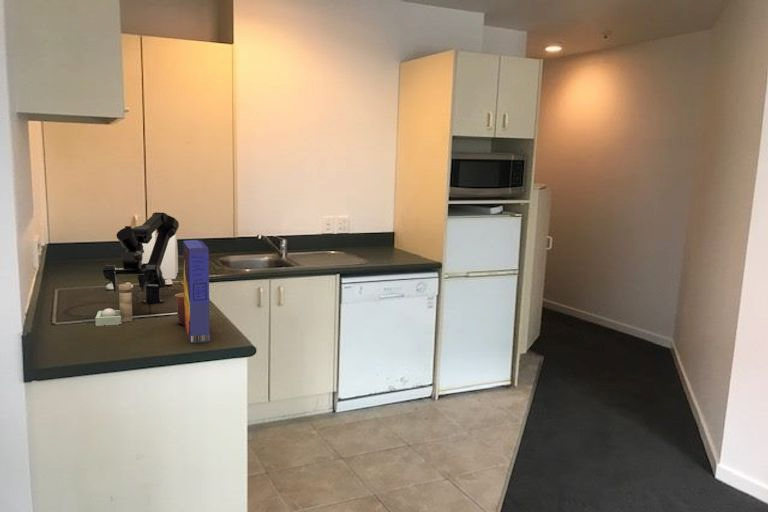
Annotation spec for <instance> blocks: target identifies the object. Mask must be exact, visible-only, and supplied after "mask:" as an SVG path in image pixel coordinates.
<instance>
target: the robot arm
mask: <svg viewBox="0 0 768 512" xmlns="http://www.w3.org/2000/svg"><path fill="white" fill-rule="evenodd" d="M179 225H180V224H179V221H178V220H177V219H176V218H175V217H174V216H171V215H169V214H168V213H165V212H158V211H157V212H156V211H155V212H152V215H151V216H150V217H149V218H148V219H147V220H146V221H145V222H143V223H142V224H141V225H137V226H134V227H132V226H130V225H126V226H125V227H124V228H122V229H120V230H119V231H117V233H116V238H117V240H118V242H119V243H120V245H121V246H122V248H124V249H126V251H124V252H121V259H120V262H121V265H122V268H117V267H116V264H105V265H104V266H103V267H102V273H103V276H104V278H105V279H106V280H108V281H109V282H111V283H112V288H113V292H114V293H116V292H117V290H118V289H117V287H118V276H119V275H130V276H133V275H134V276H135V275H137V279H138V285H139V288H140V290H141V291H140V292H141V293H142V292H143V293H144V298H145V299H142V302H143V303H145V304H147V305H151V304H160V303H164V300H162V299H161V289H164V288H165V287H166V279H164V278H163V276H162V271H161V268H160V266H161V263H162V260H163V257H164V254H165V251H166V248H167V245H168V242H169V239H170V238H171V237H172V236H174V235H175V233H177V231H178V229H179V227H180V226H179ZM155 230H156V233H157V239H156V241H155V244H154V247H153V250H152V253H151V256H150V259H149V262H148V263H147V264H146V263H143V264H142V258H143V255H142V253H144V250H143V245H142V243H143V244H148V243H149V242H150V240H151V239H152V233H153V232H154V231H155Z"/></svg>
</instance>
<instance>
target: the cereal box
mask: <svg viewBox="0 0 768 512" xmlns="http://www.w3.org/2000/svg"><path fill="white" fill-rule="evenodd" d="M182 242H183V243H182V245H183V246H182V249H183V250H182V251H183V254H182V255H183V256H182V257H183V258H182V259H183V293H184V317H185V325H184V329H185V332H186V335H187V338H188V341H189V342H188V343H189V344H196V343H197V344H198V343H209V342H210V341H211V339H210V337H211V336H210V332H211V331H210V262H209V261H210V260H209V258H210V257H209V256H210V255H209V254H210V253H209V250H210V249H209V247H208V246H207V245H206V244H205V243H204V241H202V240H198V239H191V240H190V239H188V240H183V241H182Z"/></svg>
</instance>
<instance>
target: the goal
mask: <svg viewBox="0 0 768 512" xmlns="http://www.w3.org/2000/svg"><path fill="white" fill-rule="evenodd" d="M113 310H114V311H115V312H116V316H110V317H102V312H103V311H104V310H98V311H97V314H96V316H95V327H102V326H103V327H104V325H105V326H120V325H119V324H121V325H122V322H121V316H120V309H113Z"/></svg>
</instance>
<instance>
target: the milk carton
mask: <svg viewBox="0 0 768 512" xmlns="http://www.w3.org/2000/svg"><path fill="white" fill-rule="evenodd" d="M157 236H158V232H157V229H156V230H155V231H154V232H153V233H152V239H151V240H150V242H149V243H148V244H143V243H141V244H142V245H143V250H144V253H142V255H143V258H142V261H141V265H142V264H143V263H146V264H147V263H148V262H149V259H150V256H151V253H152V250H153V247H154V244H155V241H156V239H157ZM177 236H178V235H177V232H176V233H175V235H174V236H172V237H171V238H170V239H169V242H168V245H167V248H166V251H165V254H164V257H163V260H162V263H161V266H160V268H161V271H162V276H163V278H164V280H175V279H176V278H177V276H178V274H177V273H179V251H178V249H179V248H178V237H177Z"/></svg>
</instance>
